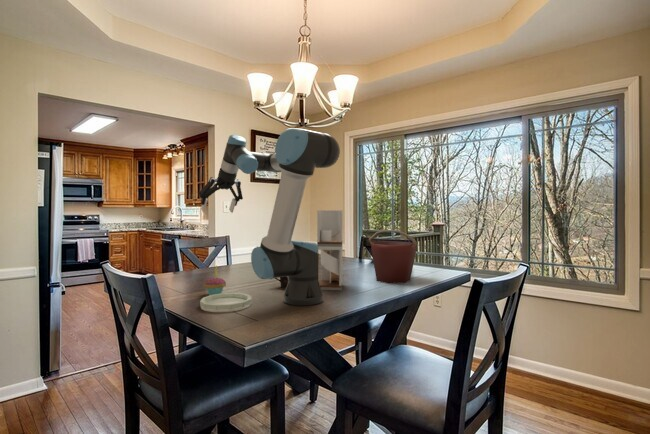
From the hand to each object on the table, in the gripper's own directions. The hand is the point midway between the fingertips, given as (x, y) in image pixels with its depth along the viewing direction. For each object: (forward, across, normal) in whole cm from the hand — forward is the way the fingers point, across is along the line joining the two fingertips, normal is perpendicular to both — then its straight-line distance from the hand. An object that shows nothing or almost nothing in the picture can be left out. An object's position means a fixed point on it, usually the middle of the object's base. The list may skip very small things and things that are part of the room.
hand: (217, 210), depth 163 cm
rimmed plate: (+11, +11, +48) cm, 50 cm away
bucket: (+4, -74, +55) cm, 92 cm away
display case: (+9, -39, +49) cm, 63 cm away
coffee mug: (+17, -24, +37) cm, 47 cm away
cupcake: (+21, +7, +32) cm, 39 cm away
